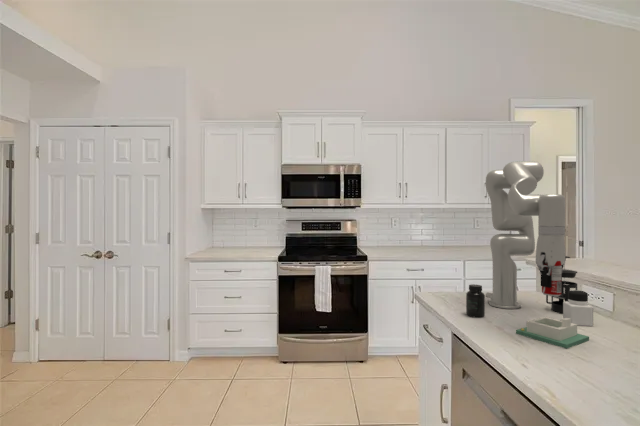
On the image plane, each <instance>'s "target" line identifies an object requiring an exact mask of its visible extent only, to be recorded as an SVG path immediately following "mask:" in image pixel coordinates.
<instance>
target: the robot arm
mask: <svg viewBox="0 0 640 426" xmlns="http://www.w3.org/2000/svg"><path fill="white" fill-rule="evenodd" d="M544 173H545V170H544V166H543V165H542V164H541V163H540V162H539V161H534V160H532V161H531V160H529V161H526V160H525V161H523V160H522V161H521V160H519V161H510V162H508V163H507V164H505V165H504V166H503V169H495V170H491V171H489V172H488V173H487V174H486V176H485V189H486V192H487V194H488V196H489V200H490V207H491V208H490V209H491V221H492V226H493V229H494V230H495V231H500V232H518V233H499V234H494V235H493V236H492V237H491V238H490V240H489V241H490V243H489V245H490V246H489V247H490V250H491V257H492V258H491V259H492V293H491V292H486V293H485V294H484V295H485V298H489V299H490V300H489V301H488V304H489V306H491V307H495V308H499V309H506V310H515V309H520V308H521V307H522V304H521V303H520V302H517V301H518V299H517V297H518V293H517V291H518V287H517V282H518V281H517V278H518V277H517V276H518V271H517V270H518V268H517V267H518V266H517V264H516V262H515V261H514V259H513V258H512V257H513V256H524V257H525V256H526V257H527V256H531V255H533V254H534V252H535V264H536V267H537V269H538V270H539V274H540V287H541V288H542V287H548V288H551V287H552V275H550V273H551V268H552V266H555V264H556V262H557V260H560V261H561V273H563V270H562V269H564V264H566V261H565V256H566V245H565V237H566V198H565V197H566V196H564V194H558V193H554V194H553V193H552V194H532V193H533V192H534V191H535V190H536V188H537V186H538V183H539V182H540V181H541V180H542V179H543V177H544ZM504 189H506V190H507V189H508V192H507V191H506V190H504ZM533 217H538V221H537V222H538V224H537V225H538V230H537V231H538V232H537V233H538V236H537V240H536V239H535V231H534V230H535V229H534V220H533ZM535 241H536V242H535ZM544 264H547V265H544ZM545 267H546V268H548V270H547V269H546V268H545ZM562 281H563V277H562V274H561V285H562Z"/></svg>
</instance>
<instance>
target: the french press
mask: <svg viewBox="0 0 640 426" xmlns="http://www.w3.org/2000/svg"><path fill="white" fill-rule="evenodd" d="M566 259H571V257H570V256H568V255H565V262H566V261H567V260H566ZM565 264H566V263H565ZM565 264H564V267H563V269H562V270H563V273H561V274H562V279H563V280H562V285H561V295H560V296H550V297H551V301H549V295H545V302H546V304H548V305H550V306H551V307H550V311H551V312H553V313H556V314H561V315H563V302H564V301H567V302H569V301H568V291H570V290H571V289H575V290H578V283H577V282H574V281H569V280H568V281H567V280H566V278H567V279H573V278H575V277H576V276H577V274H578V271H577V270H573V269H566V265H565ZM554 299H558V300H554Z"/></svg>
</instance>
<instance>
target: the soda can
mask: <svg viewBox="0 0 640 426" xmlns="http://www.w3.org/2000/svg"><path fill="white" fill-rule="evenodd" d="M544 265H547V264H544ZM545 268H546V267H545ZM546 269H547V270H548V268H546ZM550 275H552V287H551V288H548V287H542V286H541V292H542V294H543V295H545V296H546V295H548V297H551V296H560V295H561V261H560V260H557V262H556V264H555V266H552V268H551V273H550Z"/></svg>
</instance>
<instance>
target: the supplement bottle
mask: <svg viewBox="0 0 640 426" xmlns="http://www.w3.org/2000/svg"><path fill="white" fill-rule="evenodd" d="M482 291H483V286H482V285H480V284H472V283H471V284H469V285H468V291H467V292H466V293H465V299H466V301H465V307H466V308H465V309H466V310H465V312H466V315H467V317H471V318H477V319H478V318H479V319H481V318H483V317H485V314H486V312H485V311H486V310H485V309H486V308H485V307H486V305H485V304H486V302H485V301H486V299H485V298H486V297H485V295H486V294H485V293H484V292H482Z"/></svg>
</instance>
